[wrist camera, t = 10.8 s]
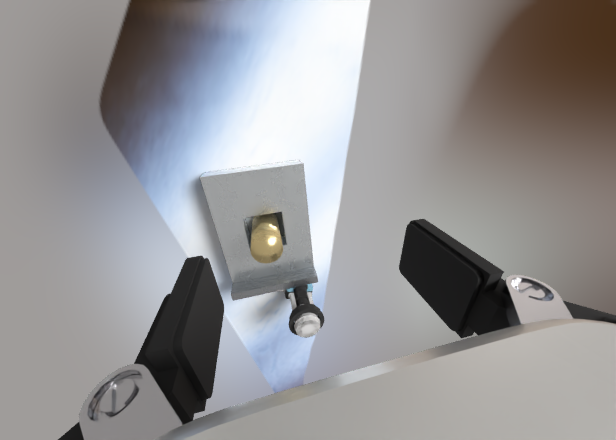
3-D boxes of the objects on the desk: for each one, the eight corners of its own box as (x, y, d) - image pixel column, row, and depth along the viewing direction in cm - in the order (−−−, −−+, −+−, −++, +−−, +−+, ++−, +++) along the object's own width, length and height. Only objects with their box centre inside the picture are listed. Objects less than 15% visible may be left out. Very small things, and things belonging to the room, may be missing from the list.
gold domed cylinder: (249, 213, 33) (247, 239, 26) (275, 209, 34) (280, 233, 26) (254, 236, 35) (253, 266, 28) (279, 231, 35) (285, 260, 28)
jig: (204, 172, 29) (194, 182, 24) (299, 159, 31) (307, 166, 26) (236, 276, 37) (232, 300, 32) (310, 261, 39) (317, 282, 34)
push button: (274, 294, 40) (278, 344, 32) (277, 271, 38) (282, 316, 29) (309, 293, 42) (322, 340, 33) (313, 271, 40) (329, 314, 31)
